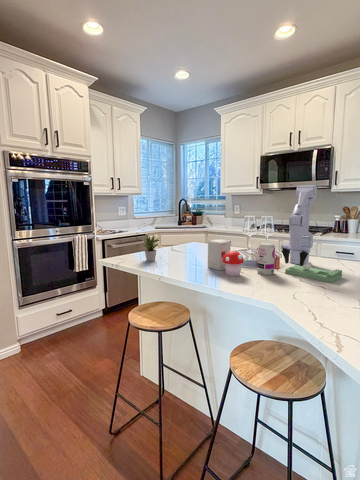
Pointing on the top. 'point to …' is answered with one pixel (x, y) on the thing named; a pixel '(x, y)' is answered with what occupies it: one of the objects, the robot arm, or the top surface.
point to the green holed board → (315, 273)
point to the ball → (306, 266)
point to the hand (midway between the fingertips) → (294, 264)
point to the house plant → (150, 248)
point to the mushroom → (233, 263)
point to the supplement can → (266, 258)
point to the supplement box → (217, 253)
